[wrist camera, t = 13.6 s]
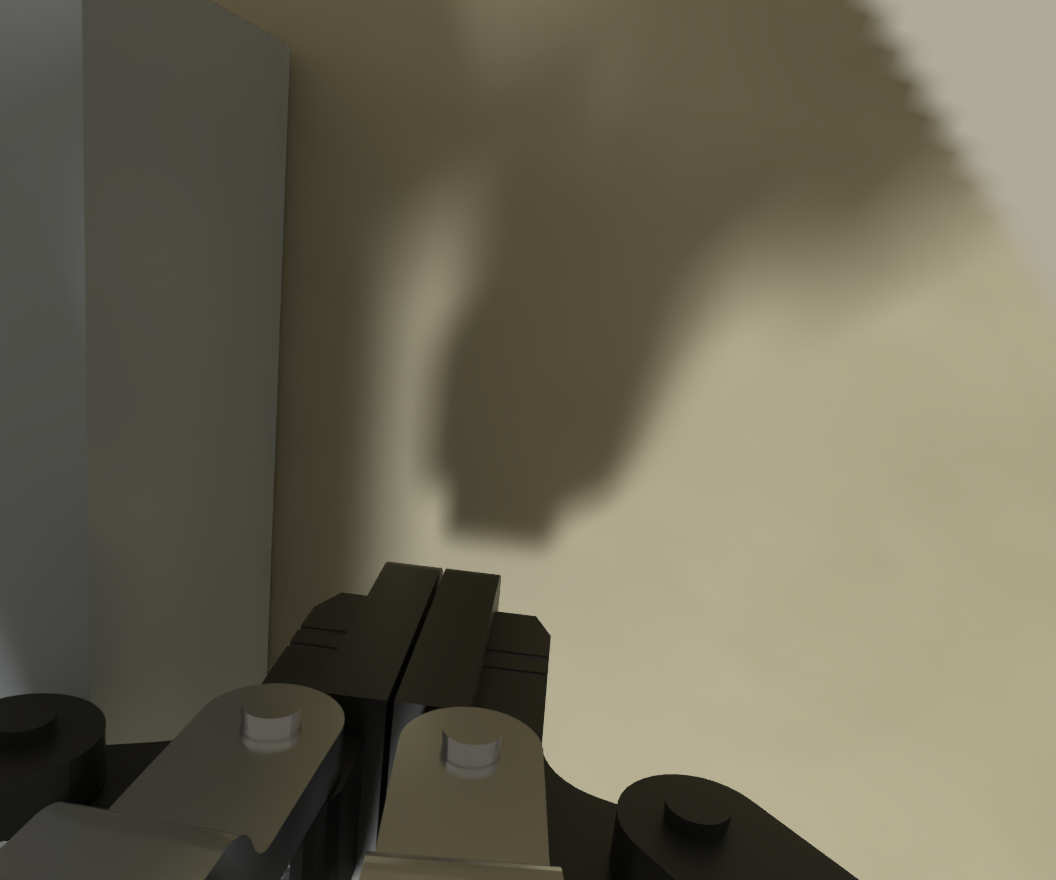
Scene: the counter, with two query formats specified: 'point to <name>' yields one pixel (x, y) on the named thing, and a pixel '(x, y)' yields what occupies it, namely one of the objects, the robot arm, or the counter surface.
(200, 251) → the tray
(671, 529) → the counter surface
